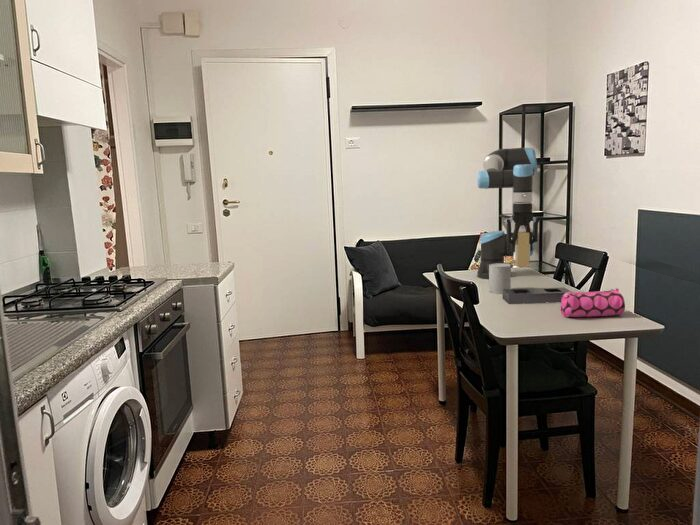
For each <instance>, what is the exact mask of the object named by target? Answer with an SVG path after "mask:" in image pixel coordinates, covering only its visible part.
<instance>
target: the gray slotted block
mask: <svg viewBox="0 0 700 525" xmlns="http://www.w3.org/2000/svg"><path fill="white" fill-rule="evenodd" d="M567 292H572V291H571V290H570V289H568V288H566V287H564V286H563V287H538V288H537V287H536V288H534V287H531V288H511V289H503V294H502V300H504V301H505V302H506V303H507V304H508V305H515V304H517V305H519V304H521V305H522V304H523V303H525V304H547V303H546V302H560V303H561V299H562V296H563V295H564V294H565V293H567Z"/></svg>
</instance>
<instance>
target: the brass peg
mask: <svg viewBox="0 0 700 525" xmlns="http://www.w3.org/2000/svg"><path fill="white" fill-rule="evenodd" d="M515 244H517V260H514V266H515V267H517V268H524V267H526V268H528V267H529V266H530V260H529V232H518V233H517V240H516V243H515Z"/></svg>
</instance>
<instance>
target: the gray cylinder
mask: <svg viewBox="0 0 700 525" xmlns="http://www.w3.org/2000/svg"><path fill="white" fill-rule="evenodd" d="M511 268H512V265H511V264H510V263H505V262H504V263H495V264H490V265H489V279H488V292H489V293H490V294H493V293H494V295H495V294H496V295H503V289H512V288H511V283H512V282H511V280H512V279H511V278H512V275H511V274H512V270H511Z"/></svg>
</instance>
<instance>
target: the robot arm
mask: <svg viewBox="0 0 700 525" xmlns="http://www.w3.org/2000/svg"><path fill="white" fill-rule="evenodd" d="M536 154H537V153H536V149H534V148H533V147H514V148H513V147H512V148H500V149H496V150H494V151H492V152H490V153H489V154H487V156H485V158H484V159H483V164H482V165H483V170H480V171H478V172H477V187H478V189H485V190H488V189H510V188H511V190H512V191H511V192H512V193H511V196H512V198H511V209H512V210H511V217H509V218H505V219H504V221H505V224H506V233H505V231H504V230H496V231H488V232H484V233H482V234H481V236H480V262H479V265H478V269H477V273H476V276H477V277H478V278H481V279H487V280H489V265H490V264H495V263H504V264H505V257H513V260H514V261H515V260H517V244H515V243H516V240H517V233H518V232H529V261H530V260H531V257H532V256H533V255H534V251H535V247H536V243H537V242H538V235H539V234H538V232H539V222H540V218H539V217H535V216H534V215H533V203H532V202H533V186H534V185H533V181H534V180H533V179H534V176H535V173H536V172H538V162H537V155H536ZM531 221H532V222H533V224H532V228H531V225H530V223H531Z"/></svg>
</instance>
